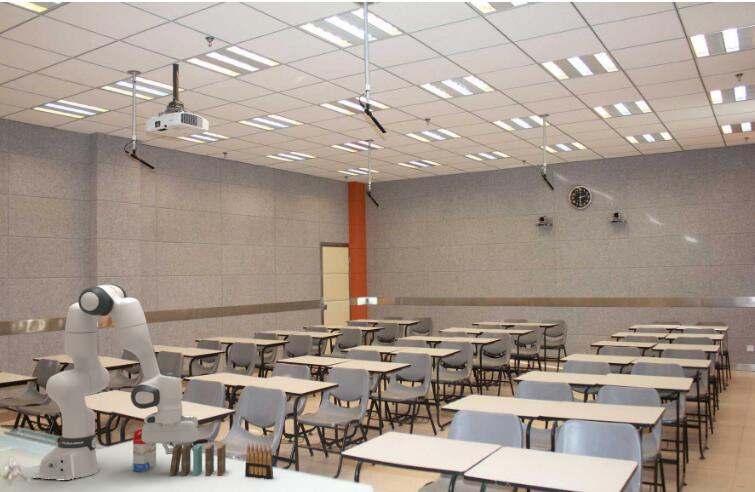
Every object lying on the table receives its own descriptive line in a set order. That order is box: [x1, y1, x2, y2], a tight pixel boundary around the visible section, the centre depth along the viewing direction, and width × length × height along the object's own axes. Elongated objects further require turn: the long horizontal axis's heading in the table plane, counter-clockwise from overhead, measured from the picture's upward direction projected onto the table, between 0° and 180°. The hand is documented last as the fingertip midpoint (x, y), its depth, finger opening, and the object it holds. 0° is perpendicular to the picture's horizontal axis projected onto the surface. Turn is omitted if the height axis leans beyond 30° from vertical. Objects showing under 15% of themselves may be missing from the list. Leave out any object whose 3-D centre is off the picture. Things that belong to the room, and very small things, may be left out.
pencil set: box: [244, 442, 274, 480], centre depth 230 cm, size 11×2×12 cm, turn 70°
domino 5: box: [216, 443, 227, 477], centre depth 235 cm, size 2×6×10 cm, turn 0°
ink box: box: [132, 428, 157, 473], centre depth 242 cm, size 8×5×15 cm, turn 168°
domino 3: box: [192, 443, 203, 477], centre depth 235 cm, size 2×6×10 cm, turn 0°
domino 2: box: [180, 443, 192, 477], centre depth 235 cm, size 2×6×10 cm, turn 0°
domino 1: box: [169, 443, 183, 477], centre depth 235 cm, size 2×6×10 cm, turn 0°
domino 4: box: [204, 443, 215, 477], centre depth 235 cm, size 2×6×10 cm, turn 0°
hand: (170, 453), depth 235 cm, fingers closed
